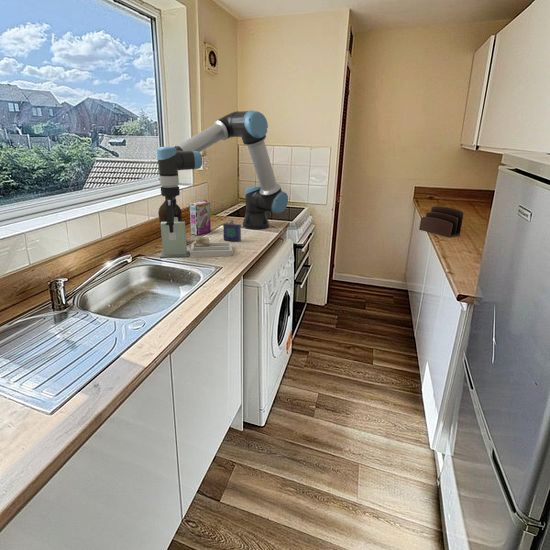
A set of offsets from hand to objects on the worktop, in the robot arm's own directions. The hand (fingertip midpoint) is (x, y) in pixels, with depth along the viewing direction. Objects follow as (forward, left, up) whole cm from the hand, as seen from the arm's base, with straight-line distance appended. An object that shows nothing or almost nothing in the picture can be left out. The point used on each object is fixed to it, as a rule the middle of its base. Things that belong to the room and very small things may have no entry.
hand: (174, 235), depth 163 cm
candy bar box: (-10, -37, -9) cm, 40 cm away
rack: (-16, -2, -9) cm, 18 cm away
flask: (-26, -20, -9) cm, 34 cm away
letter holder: (-144, -29, -9) cm, 147 cm away
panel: (0, 0, -8) cm, 8 cm away
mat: (0, 0, -9) cm, 9 cm away
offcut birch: (-12, -6, -6) cm, 14 cm away
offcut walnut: (-12, -6, -9) cm, 16 cm away
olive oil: (+3, -17, -9) cm, 20 cm away
